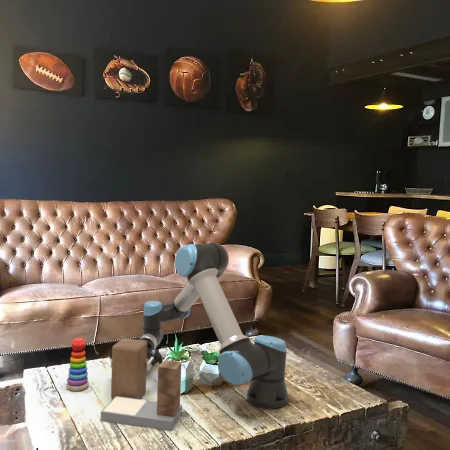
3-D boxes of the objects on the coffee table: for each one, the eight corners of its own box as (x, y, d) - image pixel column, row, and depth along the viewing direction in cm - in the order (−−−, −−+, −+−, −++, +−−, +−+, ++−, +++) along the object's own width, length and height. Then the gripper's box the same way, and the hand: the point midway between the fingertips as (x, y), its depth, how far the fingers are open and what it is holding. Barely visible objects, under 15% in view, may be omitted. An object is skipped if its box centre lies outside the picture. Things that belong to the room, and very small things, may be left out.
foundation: (181, 413, 170) (182, 404, 170) (171, 430, 158) (171, 421, 158) (115, 404, 175) (115, 395, 174) (100, 420, 163) (100, 411, 163)
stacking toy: (91, 389, 186) (92, 340, 184) (70, 393, 181) (70, 343, 180) (84, 381, 192) (85, 334, 191) (63, 385, 188) (64, 337, 186)
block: (136, 404, 175) (138, 349, 173) (109, 400, 177) (111, 345, 175) (146, 392, 185) (148, 340, 183) (121, 389, 187) (122, 337, 185)
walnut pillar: (179, 408, 167) (181, 362, 165) (174, 417, 161) (176, 369, 159) (162, 406, 168) (164, 360, 166) (156, 414, 162) (158, 367, 160)
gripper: (175, 357, 202) (162, 378, 181) (115, 352, 205) (96, 372, 184) (176, 339, 201) (163, 358, 180) (115, 334, 204) (96, 352, 183)
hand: (129, 365), depth 182 cm, fingers open, 13 cm apart
